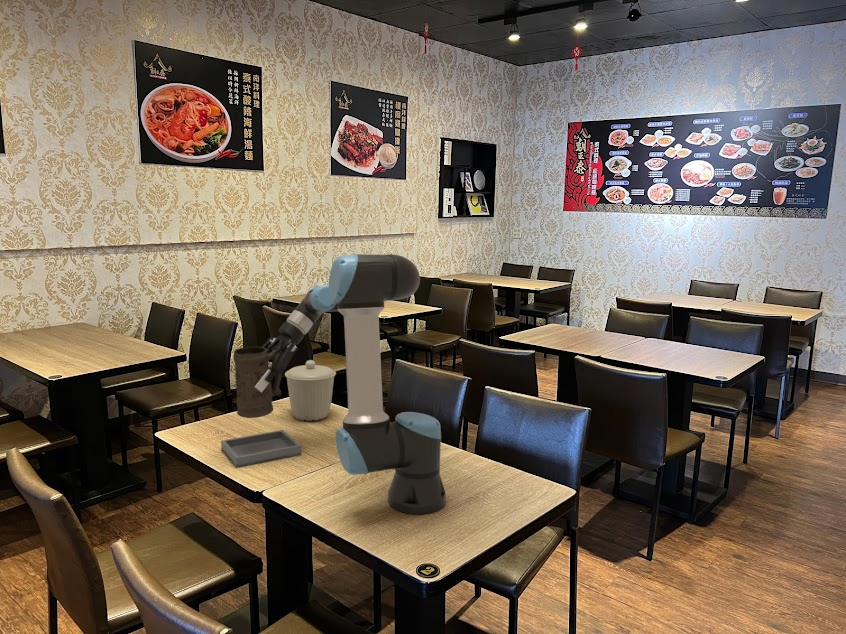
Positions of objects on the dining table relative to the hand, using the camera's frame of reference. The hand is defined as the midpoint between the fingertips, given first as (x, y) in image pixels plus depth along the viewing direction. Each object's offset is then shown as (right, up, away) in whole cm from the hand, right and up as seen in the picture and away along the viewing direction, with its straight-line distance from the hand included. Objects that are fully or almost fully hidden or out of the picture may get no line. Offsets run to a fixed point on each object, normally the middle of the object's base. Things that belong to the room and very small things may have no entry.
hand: (250, 385), depth 189 cm
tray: (+2, -21, +6) cm, 22 cm away
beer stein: (+2, -9, +4) cm, 10 cm away
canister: (+11, -16, +40) cm, 44 cm away
